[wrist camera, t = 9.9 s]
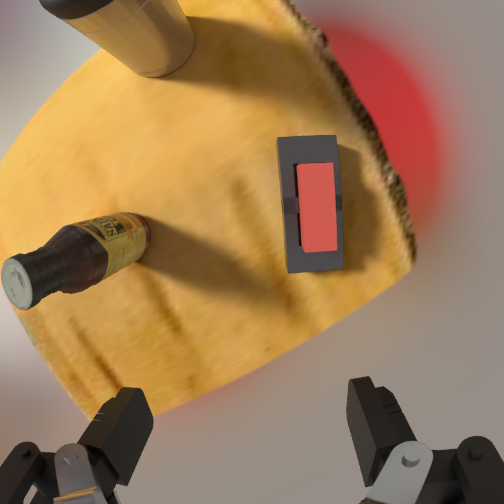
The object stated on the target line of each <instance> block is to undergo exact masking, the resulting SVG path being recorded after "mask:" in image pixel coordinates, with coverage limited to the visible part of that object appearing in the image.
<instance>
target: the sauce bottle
mask: <svg viewBox="0 0 504 504" xmlns="http://www.w3.org/2000/svg"><path fill="white" fill-rule="evenodd" d="M149 243H150V232H149V228H148V226H147V224H146V223H145V221H144V220H143V219H142V218H140V217H139V216H137V215H135V214H132V213H125V212H121V213H115V214H111V215H107V216H102V217H98V218H94V219H90V220H85V221H82V222H78V223H74V224H70V225H66V226H64V227H62V228H61V229H60V230H59V231H58V232H57V233H56V234H55V235H54V236H53V237H52V238H51V239H50V240H49V241H48V242H47V243H46V244H45V245H44V246H43V247H40V248H38V249H37V250H35V251H33V252H29V253H27V254H17V255H15V256H13V257H10V258H8V259H7V260H6V261H5V262H4V264H3V267H2V272H1V280H2V285H3V288H4V291H5V293H6V295H7V297H8V299H9V300H10V302H11V303H12V304H13V305H14V306H15V307H16V308H18V309H20V310H28V309H30V308H32V307H34V306H35V305H37V304H38V303H39V302H40V301H41V299H42V298H45V297H46V296H48V295H50V294H51V293H55V292H57V291H62V292H63V293H69V294H72V293H77V292H81V291H84V290H85V289H87V288H89V287H90V286H92V285H96V284H97V283H99V282H101V281H103V280H104V279H106V278H108V277H109V276H111V275H113V274H114V273H116V272H118V271H119V270H121V269H123V268H125V267H126V266H128V265H130V264H131V263H133V262H135V261H136V260H138V259H139V258H140V257H141V256H142V255H144V253H145V252H146V251H147V248H148V246H149Z"/></svg>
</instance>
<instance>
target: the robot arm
mask: <svg viewBox="0 0 504 504" xmlns="http://www.w3.org/2000/svg"><path fill="white" fill-rule="evenodd" d="M39 1H40V3H41V5H42V6H43V7H44V8H45V9H46V10H47V11H48V12H50V13H51V14H53V15H55V16H56V17H58V18H60V19H61V20H63V21H64V22H66V23H67V24H69V25H70V26H72V27H73V28H75V29H76V30H78V31H79V32H81V33H82V34H84V35H85V36H86V37H88V38H89V39H91V40H92V41H93V42H95V43H96V44H98V45H99V46H100V47H102V48H103V49H104V50H106V51H107V52H108V53H110V54H111V55H113V56H114V57H115V58H117V59H118V60H119V61H121V62H122V63H123V64H124V65H126V66H127V67H128V68H130V69H131V70H132V71H134V72H135V73H137V74H139V75H140V76H144V77H160V76H163V75H166V74H169V73H171V72H173V71H175V70H176V69H177V68H179V67H180V66H181V65H182V64H183V63H184V62H185V61H186V60H187V59H188V58H189V56H190V55H191V53H192V51H193V48H194V44H195V35H194V32H193V30H192V28H191V26H190V24H189V22H188V20H187V18H186V16H185V14H184V13H183V11H182V9H181V7H180V5H179V3H178V2H177V0H39ZM346 414H347V422H348V426H349V429H350V433H351V436H352V440H353V443H354V447H355V450H356V454H357V458H358V461H359V465H360V469H361V473H362V476H363V480H364V484H365V487H369V486H372V488H371V489H370V491H369V493H368V494H367V496H366V497H365V499H364V500H362V501H361V502H360V503H359V504H504V462H503V460H502V459H501V457H500V455H499V453H498V452H497V450H496V448H495V447H494V445H493V443H492V442H491V441H490V440H488V439H487V438H485V437H481V436H473V437H469V438H467V439H465V440H464V441H462V443H461V444H460V445H459V447H458V449H449V450H431V449H430V448H429V447H428V446H427V445H425V444H424V443H422V442H418V441H417V439H416V438H415V436H414V434H413V432H412V430H411V428H410V426H409V424H408V422H407V420H406V418H405V416H404V414H403V412H402V410H401V408H400V406H399V405H398V402H397V400H396V399H395V396H394V395H393V393H392V392H390V391H389V390H388V389H386V388H385V387H384V386H382V387H377V388H375V387H374V385H373V382H372V380H371V378H370V377H369V376H366V377H361V378H354V379H350V380H349V383H348V396H347V407H346ZM152 429H153V416H152V413H151V411H150V408H149V406H148V403H147V400H146V398H145V395H144V393H143V391H142V389H140V388H130V387H122V388H121V389H120V391H119V392H118V394H117V395H116V397H115V398H113V397H112V398H111V399H110V400H108V401H107V402H106V403H104V404H103V405H102V407H101V408H100V410H99V411H98V414H96V416H95V417H94V419H93V420H92V421H91V423H90V424H89V426H88V427H87V429H86V430H85V432H84V433H83V435H82V436H81V438H80V439H79V441H78V442H77V443H70V444H66V445H64V446H62V447H60V448H59V449H58V450H57V452H56V453H51V452H41V451H40V450H39V448H38V447H37V445H36V444H34V443H32V442H23V443H20V444H18V445H17V446H15V448H14V449H13V450H12V452H11V453H10V454H9V456H8V457H7V458H6V460H5V461H4V463H3V464H2V465H1V467H0V504H23V500H24V498H25V496H26V494H27V493H28V491H29V489H30V487H31V486H32V484H33V485H34V486H35V487H36V488H37V489H38V490H37V492H36V494H35V496H34V497H33V499H32V501H31V503H30V504H121V502H120V500H119V497H118V495H117V492H116V491H115V490H114V488H115V486H116V484H120V485H125V486H127V485H128V483H129V481H130V479H131V476H132V474H133V472H134V470H135V467H136V465H137V463H138V460H139V458H140V456H141V453H142V451H143V449H144V447H145V445H146V442H147V440H148V438H149V436H150V433H151V431H152Z"/></svg>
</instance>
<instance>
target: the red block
mask: <svg viewBox="0 0 504 504" xmlns="http://www.w3.org/2000/svg"><path fill="white" fill-rule="evenodd" d="M297 178H298V192H299V207H300V224H301V243H302V247H303V249H304V251H305V253H306V252H320V251H335V250H337V225H336V202H335V184H334V170H333V163H307V164H299V165H297Z"/></svg>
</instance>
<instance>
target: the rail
mask: <svg viewBox="0 0 504 504" xmlns="http://www.w3.org/2000/svg"><path fill="white" fill-rule="evenodd" d="M276 146H277V157H278V168H279V179H280V191H281V204H282V217H283V230H284V244H285V260H286V267H287V271H288V274H289V273H302V272H314V271H326V270H338V269H344V252H343V220H342V200H341V185H340V171H339V159H338V149H337V139H336V135H314V136H292V137H277V141H276ZM307 163H333V170H334V184H335V202H336V225H337V250H335V251H320V252H306V253H305V251H304V249H303V247H302V243H301V224H300V207H299V192H298V178H297V165H299V164H307Z"/></svg>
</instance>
